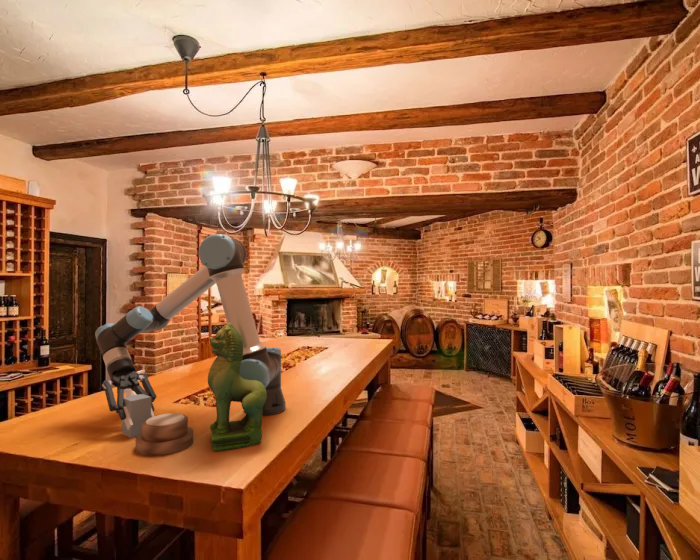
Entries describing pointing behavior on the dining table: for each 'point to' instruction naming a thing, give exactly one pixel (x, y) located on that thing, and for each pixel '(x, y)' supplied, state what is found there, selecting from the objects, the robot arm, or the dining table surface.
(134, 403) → the slate block
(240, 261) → the robot arm
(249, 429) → the lion statue
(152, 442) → the walnut pedestal
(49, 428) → the dining table surface
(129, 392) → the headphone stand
